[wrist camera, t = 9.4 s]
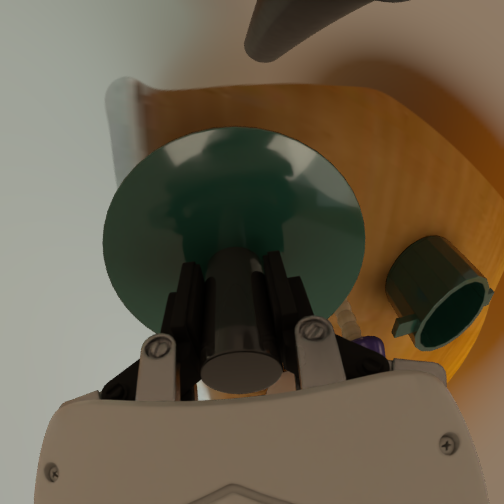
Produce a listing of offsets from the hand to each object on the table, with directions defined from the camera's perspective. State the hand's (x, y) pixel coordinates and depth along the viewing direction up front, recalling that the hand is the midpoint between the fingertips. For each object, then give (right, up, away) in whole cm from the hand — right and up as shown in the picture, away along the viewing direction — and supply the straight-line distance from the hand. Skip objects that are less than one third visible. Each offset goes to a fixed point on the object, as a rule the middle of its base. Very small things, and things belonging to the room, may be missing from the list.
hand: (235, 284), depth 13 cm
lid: (0, +1, +1) cm, 2 cm away
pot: (+25, -2, +22) cm, 34 cm away
